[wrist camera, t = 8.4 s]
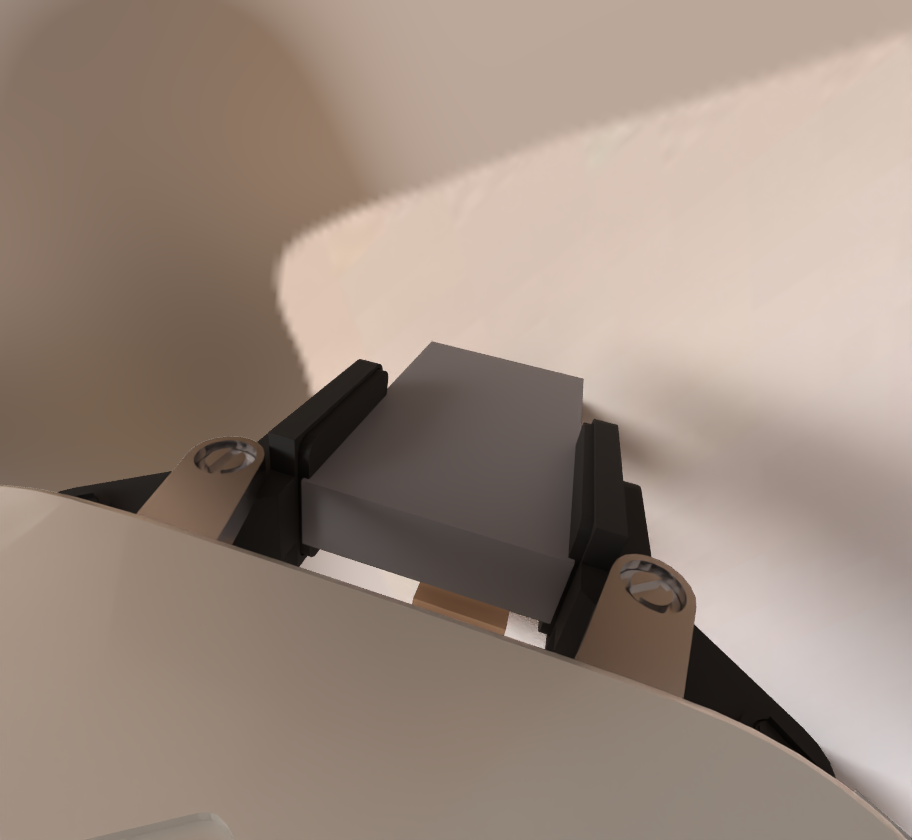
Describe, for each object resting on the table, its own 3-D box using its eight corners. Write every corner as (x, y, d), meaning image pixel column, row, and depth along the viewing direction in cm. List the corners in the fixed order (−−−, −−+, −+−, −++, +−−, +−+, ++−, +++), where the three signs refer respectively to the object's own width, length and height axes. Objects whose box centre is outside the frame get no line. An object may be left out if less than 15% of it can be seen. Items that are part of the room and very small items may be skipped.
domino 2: (453, 505, 31) (413, 598, 24) (526, 527, 30) (505, 629, 24) (450, 522, 32) (410, 617, 25) (521, 544, 31) (499, 648, 24)
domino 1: (431, 341, 15) (301, 480, 8) (583, 378, 15) (575, 563, 8) (425, 384, 16) (302, 543, 9) (569, 422, 15) (549, 623, 9)
